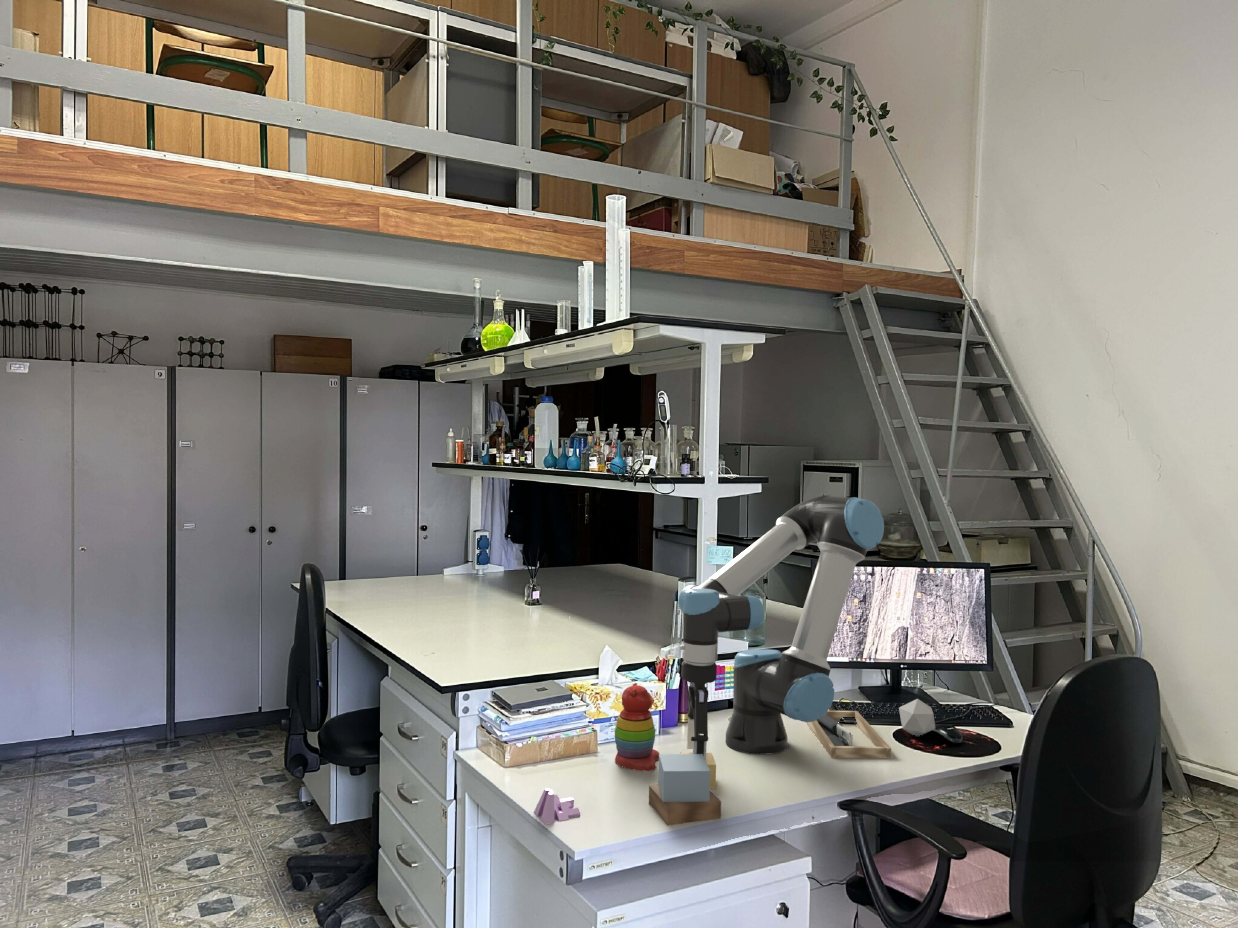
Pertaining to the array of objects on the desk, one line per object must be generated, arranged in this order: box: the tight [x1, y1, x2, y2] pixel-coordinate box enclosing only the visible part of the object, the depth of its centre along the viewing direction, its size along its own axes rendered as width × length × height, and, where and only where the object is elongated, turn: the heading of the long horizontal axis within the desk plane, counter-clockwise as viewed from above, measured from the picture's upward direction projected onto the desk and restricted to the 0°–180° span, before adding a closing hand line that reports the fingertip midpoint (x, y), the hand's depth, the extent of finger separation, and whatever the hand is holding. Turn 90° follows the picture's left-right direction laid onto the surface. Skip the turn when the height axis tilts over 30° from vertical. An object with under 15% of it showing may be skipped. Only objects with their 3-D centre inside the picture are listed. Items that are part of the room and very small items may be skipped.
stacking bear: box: [614, 682, 660, 772], centre depth 196 cm, size 11×10×18 cm
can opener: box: [817, 714, 854, 746], centre depth 213 cm, size 19×6×5 cm, turn 8°
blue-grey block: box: [657, 753, 711, 802], centre depth 168 cm, size 9×9×6 cm
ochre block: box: [679, 752, 717, 790], centre depth 183 cm, size 7×7×6 cm
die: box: [898, 698, 936, 737], centre depth 216 cm, size 8×9×10 cm
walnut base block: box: [648, 783, 722, 826], centre depth 168 cm, size 11×11×5 cm
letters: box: [533, 787, 581, 825], centre depth 166 cm, size 8×7×6 cm
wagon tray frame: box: [805, 710, 892, 759], centre depth 213 cm, size 14×28×3 cm, turn 0°
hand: (695, 759), depth 183 cm, fingers open, 13 cm apart
